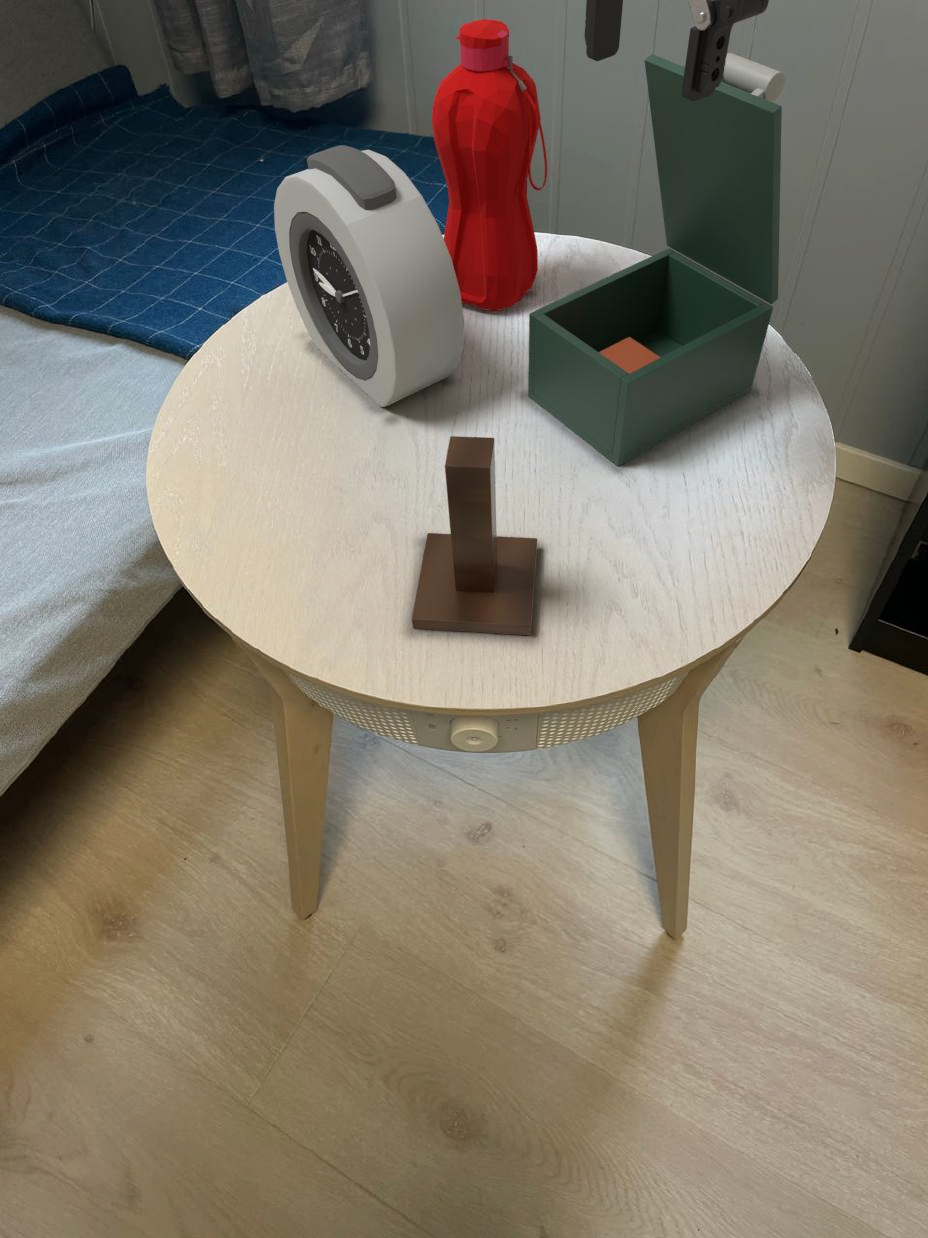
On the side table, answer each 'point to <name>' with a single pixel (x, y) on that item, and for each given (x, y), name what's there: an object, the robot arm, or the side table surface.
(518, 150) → the water bottle
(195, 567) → the side table surface
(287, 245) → the alarm clock
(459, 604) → the stand
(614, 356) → the block
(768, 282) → the bin lid
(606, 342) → the bin
